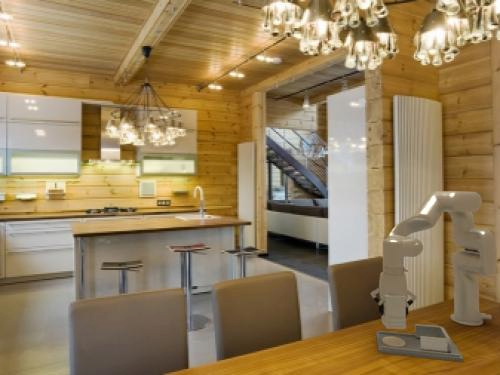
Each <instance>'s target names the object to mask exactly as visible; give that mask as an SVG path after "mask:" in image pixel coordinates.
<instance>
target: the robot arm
mask: <svg viewBox="0 0 500 375" xmlns="http://www.w3.org/2000/svg"><path fill="white" fill-rule="evenodd" d="M482 204H483V199H482V197H481V195H480V194H479V193H478V192H476V191H462V190H461V191H459V190H445V191H444V190H435V191H431V192H430V193H429V194H428V195H427V196H426V198H425V200H424V201H423V202H422V203H421V205H420V206H419V207H418V209H417V211H416V212H415V213H414V214H413V215H411V216H410V217H407V218H405V219H403V220H401V221H400V222H398V223H397V224H396V225H395V226H394V227H393V228H392V229H391V231H390V232H389V234H388V235H387V237H385V239H383V241H382V272H380V275H379V281H378V282H379V283H378V284H379V286H378V287H377V288H376V289H374V290H372V291H371V292H370V295H371V297H372V298H373V300H374V301H375V303H377V305H378V313H380V316H381V317H382V315H383V304H382V303H383V302H384V295H400V296H405V297H406V319H407V317H408V316H409V308H410V306H411V305H413V304H414V302H415V301H416V300H417V299H418V298H417V295H416V294H414V293H413V292H412V291H410V290H409V289H408V283H407V276H406V274H405V273H408V272H409V271H408V270H409V269H408V268H407V267H404V260H405V258H406V257H408V258H414V257H418V256H419V255H421V254H422V252H423V250H424V245H423V243H422V241H421V240H420V239H419V238H416V237H412V236H409V235H411V234H414V233H417V232H422V231H425V230H426V231H427V230H430V229H433V228H434V227H435V226H436V224H437V222H438V221H439V220H440V218H441V216H442V215H443V214H444V212H446V213H448V214H449V216H450V218H451V223H452V235H453V236H452V237H453V243H454V245H455V246H456V247H458V248H461V250H457V251H456V250H455V251H454V252H453V253H452V255H451V264H452V265H451V266H452V270H453V293H454V294H453V295H454V296H453V300H454V302H453V305H454V306H453V308H454V309H453V313H451V315H450V320H451V321H453V322H454V323H457V324H460V325H464V326H472V327H473V326H474V327H477V326H481V325H483V324H484V320H492V317H493V316H492V315H491V314H487V313H485V312H481V311H480V288H479V287H480V285H479V284H480V283H479V279H478V278H477V275H478V276H482V277H493V276H494V275H495V274H496V272H497V270H498V257H497V243H496V238H495V235H494V233H493V232H492V231H491V230H489V229H485V228H477V227H476V225H475V218H474V214H473V213H475V212H477V211H479V210H480V208H481V207H482ZM466 249H467V250H466ZM472 250H473V251H472ZM476 251H477V252H476ZM377 294H379V298H378V297H377V296H376V295H377ZM409 296H410V297H411V298H410V299H409V300H408V297H409Z"/></svg>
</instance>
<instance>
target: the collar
mask: <svg viewBox="0 0 500 375" xmlns="http://www.w3.org/2000/svg"><path fill="white" fill-rule="evenodd" d="M414 334H415V337H416V338H420V350H424V351H434V352H443V353H451V339H452V338H451V337H450V336H449V334H448V332H447V330H446V329H445V328H444V326H443V325H442V326H440V325H431V324H419V323H415V324H414Z"/></svg>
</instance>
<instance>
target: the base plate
mask: <svg viewBox="0 0 500 375" xmlns="http://www.w3.org/2000/svg"><path fill="white" fill-rule="evenodd" d="M375 336H376V341H377V342H376V343H377V349H378V353H379V354H386V355H387V354H389V355H397V356H404V357H405V356H406V357H415V358H424V359H430V360H431V359H433V360H440V361H441V360H442V361H450V362H451V361H452V362H458V363H459V362H460V363H464V357H463V355H462V353H460V351H459V349H458V348H457V345H456V344H455V343H454V341H453V339H452V338H450V339H451V353H443V352H434V351H424V350H420V338H416V337H415V333H405V332H397V331H384V330H383V331H382V330H378V331H376V332H375Z"/></svg>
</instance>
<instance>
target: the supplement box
mask: <svg viewBox="0 0 500 375" xmlns="http://www.w3.org/2000/svg"><path fill="white" fill-rule="evenodd" d="M406 301H407V300H406V297H405V296H400V295H384V302H383V303H382V304H383V315H382V316H381V322H382V324H383V326H384V327H385V329H386V330H387V329H389V330H394V329H395V330H396V329H397V330H406V329H407V318H406Z"/></svg>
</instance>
